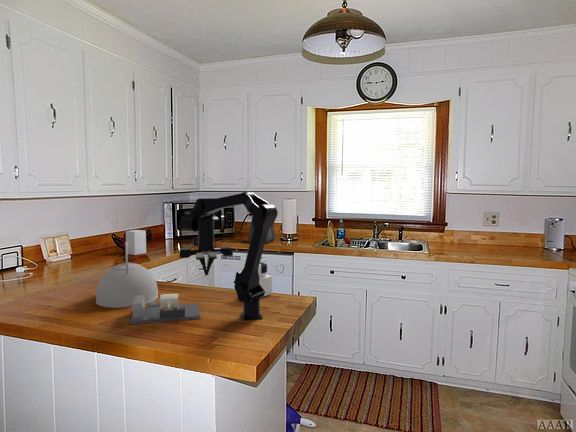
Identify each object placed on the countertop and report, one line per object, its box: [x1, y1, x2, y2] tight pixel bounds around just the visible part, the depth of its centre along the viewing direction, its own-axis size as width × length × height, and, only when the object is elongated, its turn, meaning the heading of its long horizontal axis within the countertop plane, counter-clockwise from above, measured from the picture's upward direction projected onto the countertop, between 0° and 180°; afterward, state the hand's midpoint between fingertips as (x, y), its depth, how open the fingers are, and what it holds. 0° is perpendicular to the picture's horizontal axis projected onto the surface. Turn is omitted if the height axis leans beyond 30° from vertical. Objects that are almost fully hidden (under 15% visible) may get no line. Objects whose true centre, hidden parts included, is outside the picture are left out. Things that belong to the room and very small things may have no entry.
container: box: [250, 261, 273, 297], centre depth 159 cm, size 8×8×13 cm
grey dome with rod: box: [95, 241, 159, 309], centre depth 153 cm, size 25×23×23 cm
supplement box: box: [125, 229, 147, 256], centre depth 249 cm, size 9×9×15 cm
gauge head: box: [147, 293, 180, 309], centre depth 132 cm, size 10×10×5 cm
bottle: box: [247, 220, 277, 244], centre depth 301 cm, size 18×16×30 cm
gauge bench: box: [129, 295, 201, 325], centre depth 134 cm, size 14×22×6 cm, turn 106°
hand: (206, 275), depth 141 cm, fingers closed
